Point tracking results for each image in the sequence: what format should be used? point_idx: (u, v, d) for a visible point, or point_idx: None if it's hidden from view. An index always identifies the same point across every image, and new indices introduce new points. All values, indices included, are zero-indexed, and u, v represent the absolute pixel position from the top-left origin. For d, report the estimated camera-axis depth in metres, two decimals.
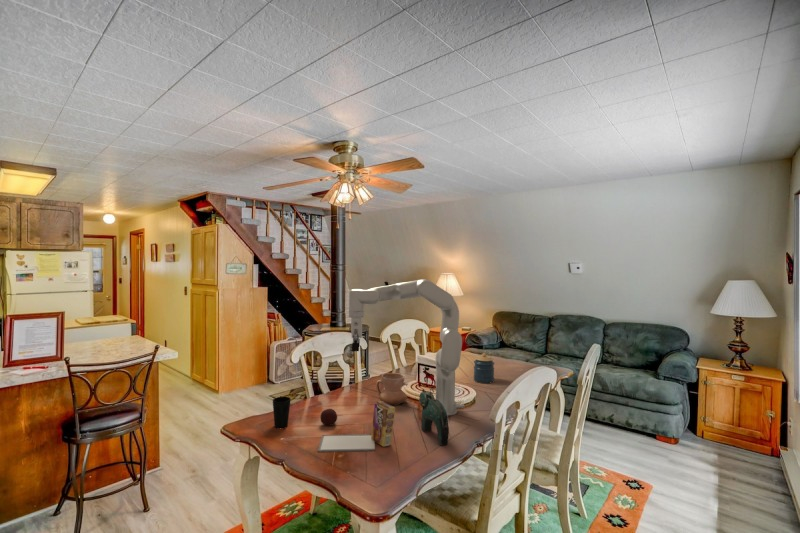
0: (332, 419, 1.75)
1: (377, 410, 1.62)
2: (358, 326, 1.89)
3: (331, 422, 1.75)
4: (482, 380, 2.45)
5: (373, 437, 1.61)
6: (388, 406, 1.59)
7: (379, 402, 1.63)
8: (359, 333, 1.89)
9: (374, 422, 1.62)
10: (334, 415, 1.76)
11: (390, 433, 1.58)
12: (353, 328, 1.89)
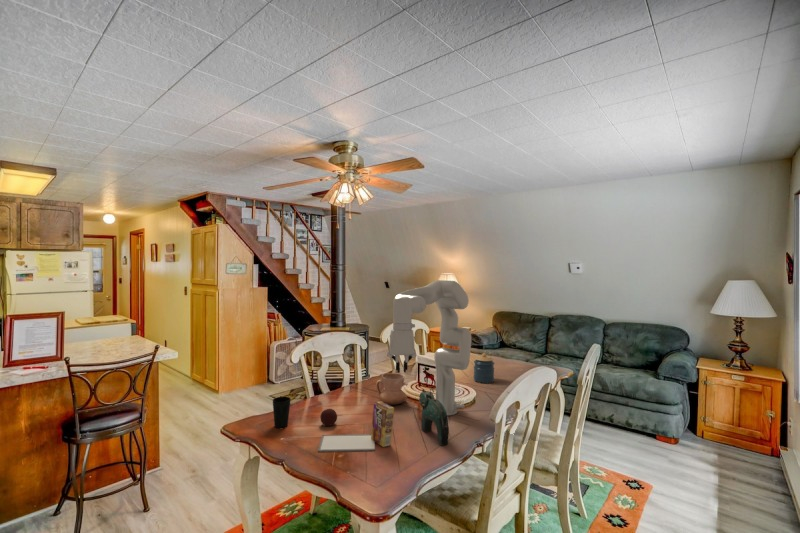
0: (332, 419, 1.75)
1: (376, 410, 1.61)
2: None
3: (331, 422, 1.75)
4: (482, 380, 2.45)
5: (373, 437, 1.61)
6: (387, 406, 1.59)
7: (378, 402, 1.63)
8: None
9: (374, 422, 1.62)
10: (334, 415, 1.76)
11: (390, 433, 1.58)
12: None
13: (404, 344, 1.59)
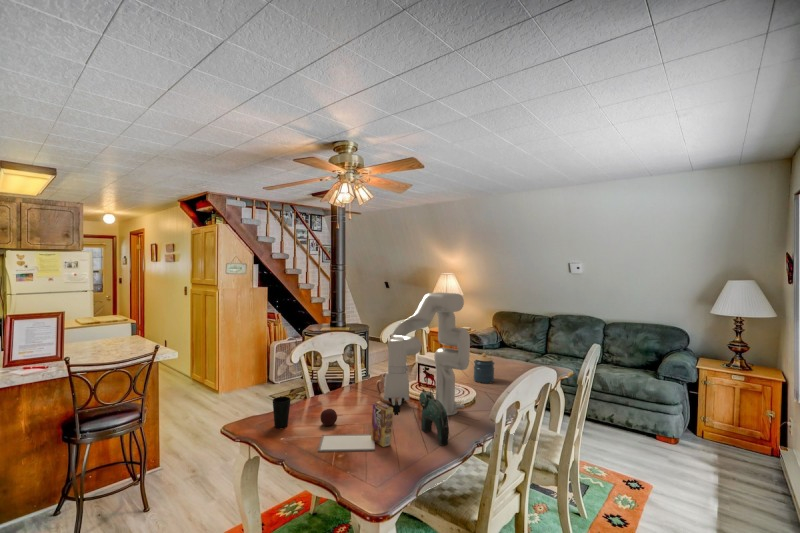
0: (332, 419, 1.75)
1: (375, 410, 1.61)
2: None
3: (331, 422, 1.75)
4: (482, 380, 2.45)
5: (373, 437, 1.61)
6: (386, 407, 1.58)
7: (377, 402, 1.63)
8: None
9: (373, 423, 1.62)
10: (334, 415, 1.76)
11: (389, 433, 1.58)
12: (408, 385, 1.60)
13: (399, 387, 1.59)
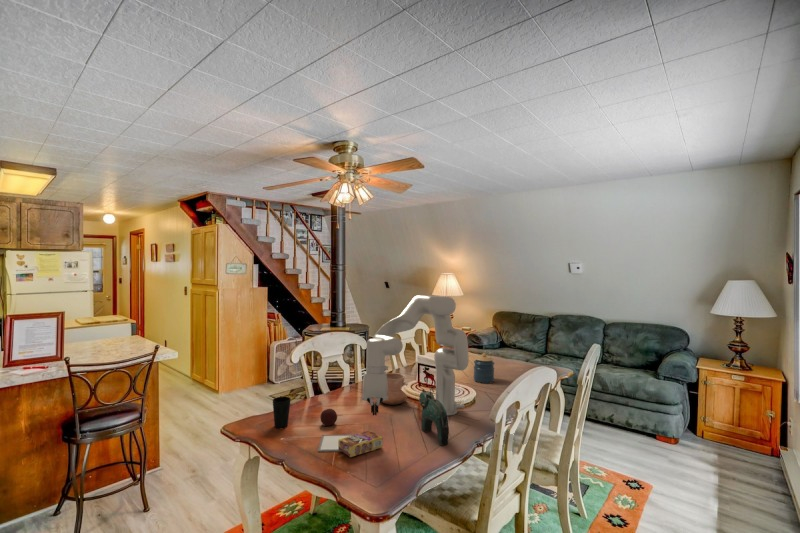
0: (332, 419, 1.75)
1: None
2: None
3: (331, 422, 1.75)
4: (482, 380, 2.45)
5: None
6: (347, 451, 1.48)
7: (340, 446, 1.52)
8: None
9: None
10: (334, 415, 1.76)
11: (372, 442, 1.53)
12: None
13: (377, 387, 1.58)
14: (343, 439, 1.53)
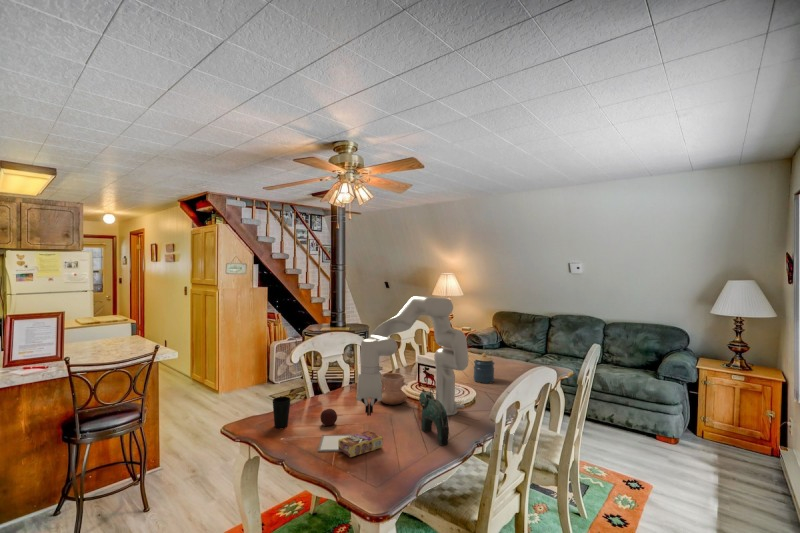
0: (332, 419, 1.75)
1: None
2: (381, 381, 1.62)
3: (331, 422, 1.75)
4: (482, 380, 2.45)
5: None
6: (347, 451, 1.48)
7: (340, 446, 1.52)
8: None
9: None
10: (334, 415, 1.76)
11: (372, 442, 1.53)
12: (381, 385, 1.59)
13: (371, 387, 1.58)
14: (343, 439, 1.53)
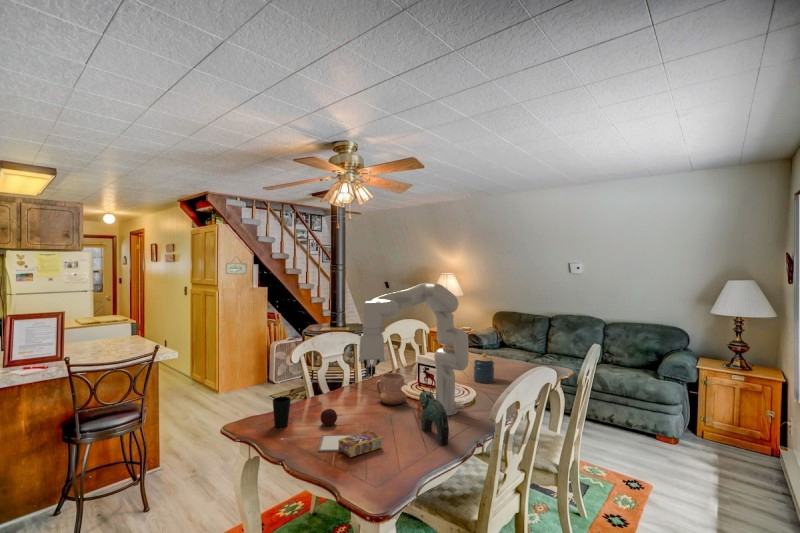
0: (332, 419, 1.75)
1: None
2: None
3: (331, 422, 1.75)
4: (482, 380, 2.45)
5: None
6: (347, 451, 1.48)
7: (340, 446, 1.52)
8: None
9: None
10: (334, 415, 1.76)
11: (372, 442, 1.53)
12: (383, 347, 1.60)
13: (373, 348, 1.59)
14: (343, 439, 1.53)
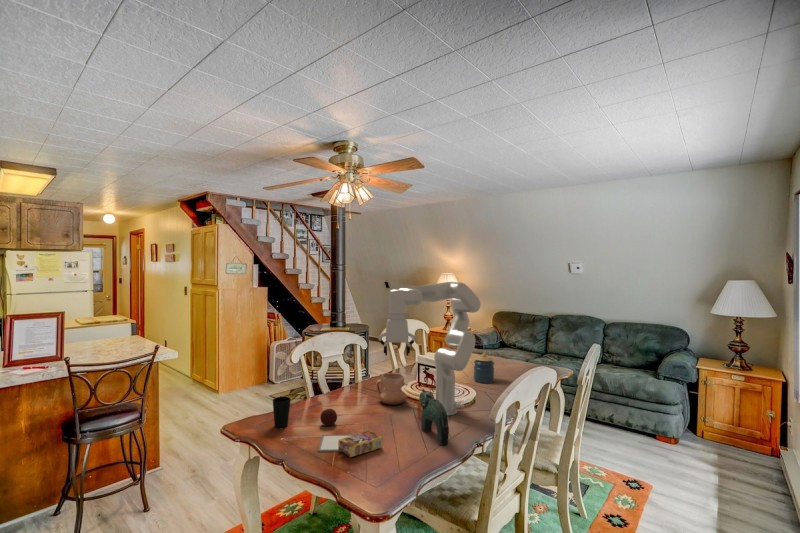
0: (332, 419, 1.75)
1: None
2: None
3: (331, 422, 1.75)
4: (482, 380, 2.45)
5: None
6: (347, 451, 1.48)
7: (340, 446, 1.52)
8: None
9: None
10: (334, 415, 1.76)
11: (372, 442, 1.53)
12: None
13: (399, 332, 1.75)
14: (343, 439, 1.53)
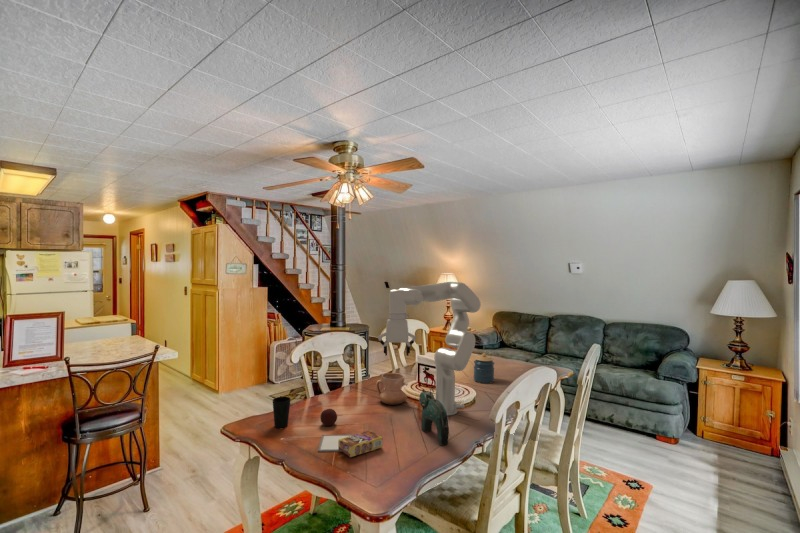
0: (332, 419, 1.75)
1: None
2: None
3: (331, 422, 1.75)
4: (482, 380, 2.45)
5: None
6: (347, 451, 1.48)
7: (340, 446, 1.52)
8: None
9: None
10: (334, 415, 1.76)
11: (372, 442, 1.53)
12: None
13: (399, 332, 1.75)
14: (343, 439, 1.53)
